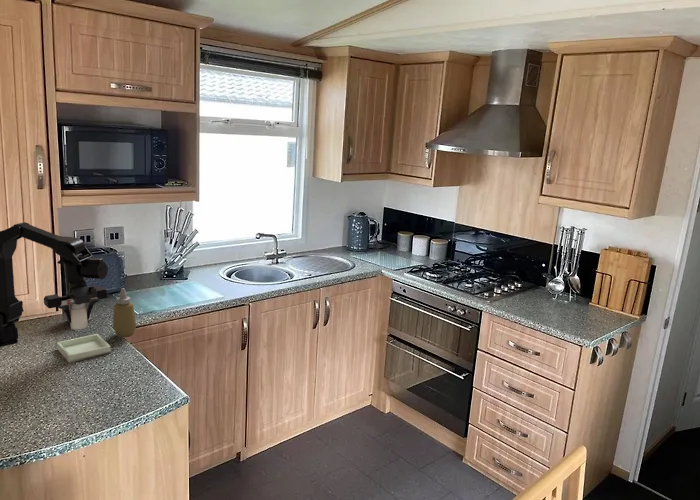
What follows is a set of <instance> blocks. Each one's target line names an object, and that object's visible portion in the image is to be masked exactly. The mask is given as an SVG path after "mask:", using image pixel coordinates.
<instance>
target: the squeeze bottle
mask: <svg viewBox="0 0 700 500" xmlns="http://www.w3.org/2000/svg"><path fill="white" fill-rule="evenodd" d="M127 295H128V294H127V291H126V289H125V288H124V287H122V288H121V289H120V293H119V297H116V303H115V304H114V306H113V319H112V329H113V330H114V334H115V335H116V337H118V338H130V337H132V336H134V334H135V331H136V328H137V320H136V314H135V313H136V312H135V307H134V304H133V303H132V301H131V297H130V296H127Z"/></svg>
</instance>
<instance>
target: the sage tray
mask: <svg viewBox="0 0 700 500" xmlns="http://www.w3.org/2000/svg"><path fill="white" fill-rule="evenodd" d="M56 346H57V351H59V353H60V354H61V356H62V357H64V359H65V360H66V361H67V363H68V364H70V363H75V362H79V361H83V360H88V359H91V358H95V357H99V356H102V355H109V354H111V353H112V350H111V349H112V348H111V347H112V346H111V345H110V344H109V343H108V342H107V341H106V340H105V339H103V337H102V336H101V335H100V334H98V333H95V334H89V335H86V336H80V337H76V338H72V339H67V340H61V341H58V342H57V343H56Z"/></svg>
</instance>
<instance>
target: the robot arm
mask: <svg viewBox="0 0 700 500" xmlns="http://www.w3.org/2000/svg"><path fill="white" fill-rule="evenodd" d="M21 238H23V239H26V240H29V241H32V242H34V243H36V244H40V245H42V246H44V247H47V248H50V249H51V250H53V251H54V254H56V255H58V256H60V257H61V258H60V259H59V260H58V261H57V262H56V263H57V264H58V265H63V268H64V277H65V279H64V282H65V289H66V291H65V293H66V295H62V296H59V295H58V294H57V293H56V294H51V295H50V294H49V295H45V296H44V298H43V305H44V306H46V307H47V309H54V308H58V309H61V310H62V312H63V313H64V316H65V318H66V319H67V321H68V323H69V324H70V323H71V317H70V312H69V305H67V301H72V300H74V302H75V304H77V305H80V304H82V303H85V305H86V309H87V320H88V319H89V317H90V314H91V315H92V309H93V308H94V305H95V304H96V303H97V302H99V301H100V300H103V299H108V298H109V291H108V290H107V289H106V288H104V286H97V287H96V286H95V285H94V286H88V285H87V280H86V279H94V280H95V279H96V280H105V278H106V277H107V275H108V270H109V268H108V265H107V264H106V262H105V261H104V259H103V258H101V257H100V258H99V257H98V258H94V256H93V254H92V252H90V250H89V249H88V247H86V244H85V243H84V241H83V239H80V238H78V237H74V236H73V237H72V236H62V235H57V234H56V233H53V232H50V231H48V230H45V229H42V228H39V227H37V226H34V225H31V224H30V223H28V222H19V223H16V224H14V225H12V226H10V227H9V228H6V229H4V230H3V229H2V230H0V345H1V346H6V345H10V344H15V343H18V342H19V340H18V339H19V331H18V327H17V325H16V324H15V323H18V322H19V321H20V318H21V316H22V315H23V313H24V312H25V310H24V307H23V306H24V304H23V303H24V302H23V301H22V300H19V299H18V298H17V296H16V289H15V276H14V264H13V256H14V253H15V252H16V250H17V247H18V246H17V244H18V240H20V239H21Z"/></svg>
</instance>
